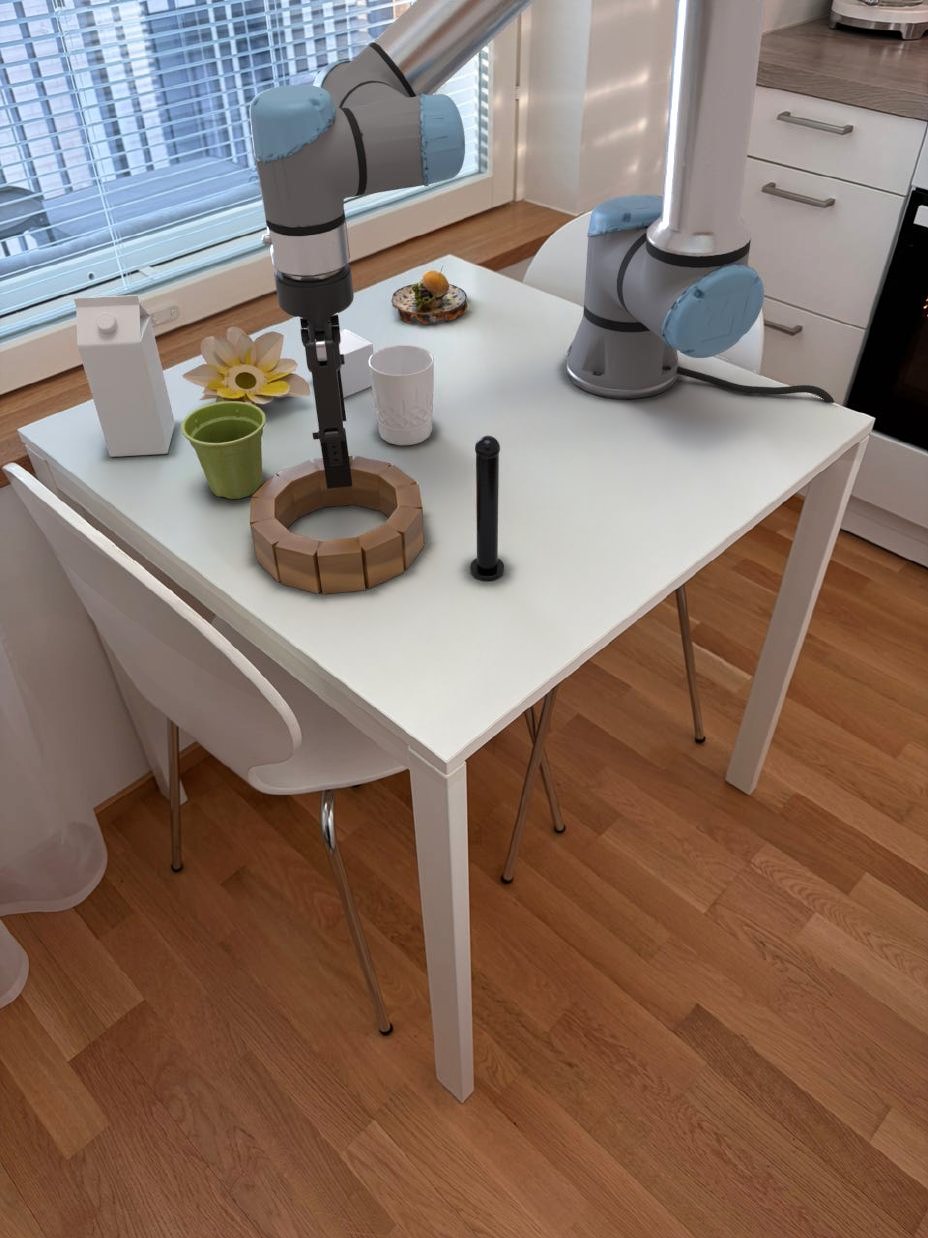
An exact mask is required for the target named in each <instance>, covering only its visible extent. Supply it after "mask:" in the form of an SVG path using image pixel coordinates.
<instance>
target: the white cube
mask: <svg viewBox="0 0 928 1238" xmlns="http://www.w3.org/2000/svg"><path fill="white" fill-rule="evenodd" d="M340 336H341V342H340V344H339V349H340V354H344V361H345V364H344V365H341V369H340V373H341V380H342V388H343V396H344V398H347V397H349V396H352V395H354V394H356V393H358V392H361V391H364V390H365V389H368V388H370V387H372V385H371V377H370V369H369V358H370V357H371V355H372V354H374V353H375V352H374V343H373V342H371V341H369V340H367V339H365V338H363V337H362V336H360V335H359V334H356V333H354V332H352V331H350V330H348V329H347V328H345V329H342V330H340Z"/></svg>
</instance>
